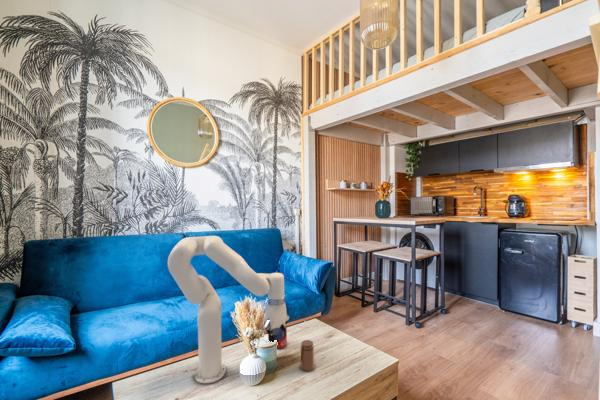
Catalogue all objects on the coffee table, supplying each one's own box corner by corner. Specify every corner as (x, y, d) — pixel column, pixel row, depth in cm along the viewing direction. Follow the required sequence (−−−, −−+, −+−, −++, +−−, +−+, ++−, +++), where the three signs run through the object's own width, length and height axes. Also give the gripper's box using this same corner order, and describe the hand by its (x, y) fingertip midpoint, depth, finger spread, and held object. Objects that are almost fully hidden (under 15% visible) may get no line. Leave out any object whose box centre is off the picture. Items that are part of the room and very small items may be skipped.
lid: (283, 339, 124) (283, 334, 124) (269, 340, 124) (268, 335, 124) (284, 332, 130) (284, 327, 130) (270, 332, 130) (270, 327, 130)
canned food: (287, 341, 146) (287, 320, 146) (285, 349, 138) (285, 327, 138) (273, 340, 146) (273, 320, 146) (270, 349, 139) (270, 327, 138)
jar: (303, 372, 120) (303, 347, 120) (299, 364, 125) (298, 340, 125) (315, 369, 122) (315, 344, 122) (310, 362, 127) (310, 338, 127)
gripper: (283, 293, 136) (284, 329, 136) (256, 304, 123) (257, 344, 123) (294, 296, 131) (295, 334, 131) (268, 309, 118) (268, 350, 118)
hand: (277, 338), depth 127 cm, fingers closed on lid, 6 cm apart
